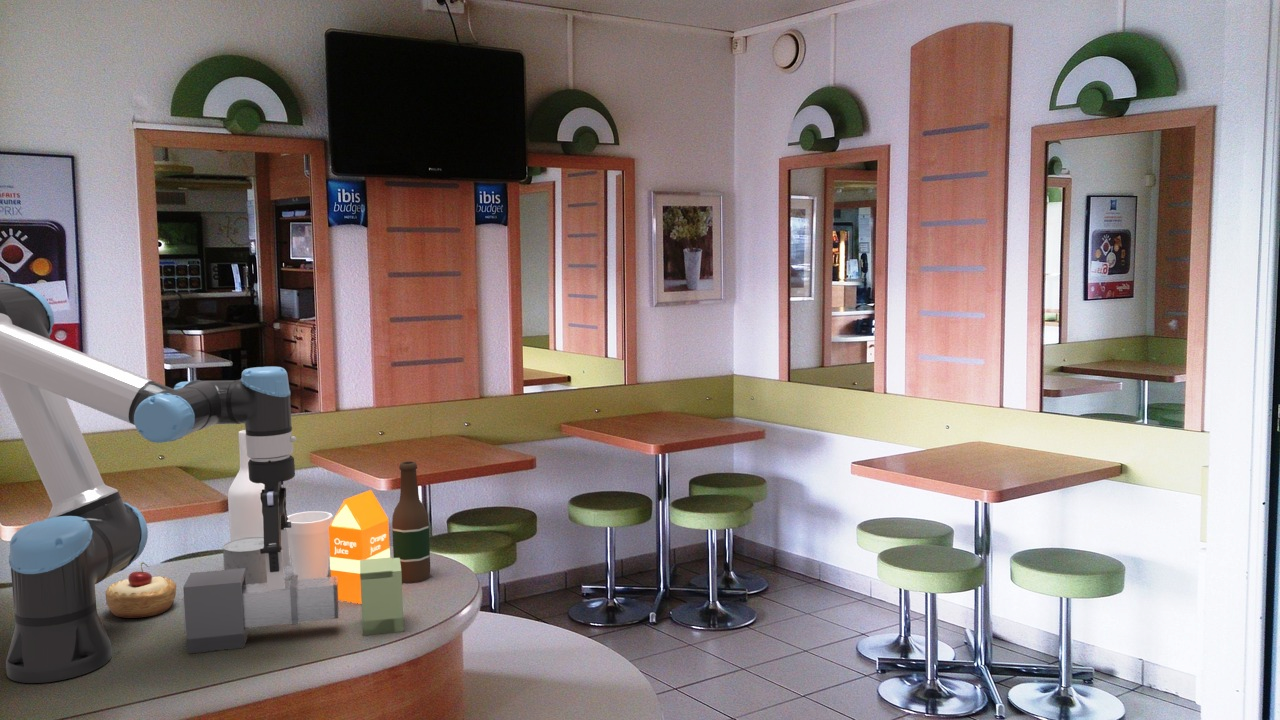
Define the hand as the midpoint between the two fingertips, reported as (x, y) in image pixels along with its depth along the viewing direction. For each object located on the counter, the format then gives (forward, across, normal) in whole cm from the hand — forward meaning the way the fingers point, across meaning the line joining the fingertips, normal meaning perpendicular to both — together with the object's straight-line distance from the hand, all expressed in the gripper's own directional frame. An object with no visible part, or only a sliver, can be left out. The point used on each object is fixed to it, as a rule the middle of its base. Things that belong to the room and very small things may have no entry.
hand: (279, 577), depth 182 cm
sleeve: (+10, 0, +11) cm, 15 cm away
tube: (+8, 0, +3) cm, 8 cm away
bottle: (+10, +39, +9) cm, 41 cm away
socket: (+11, 0, -17) cm, 20 cm away
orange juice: (+11, +18, -13) cm, 25 cm away
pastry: (+10, +21, +27) cm, 36 cm away
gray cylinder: (+11, +17, +7) cm, 21 cm away
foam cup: (+11, +31, -3) cm, 33 cm away
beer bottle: (+11, +26, -23) cm, 37 cm away
